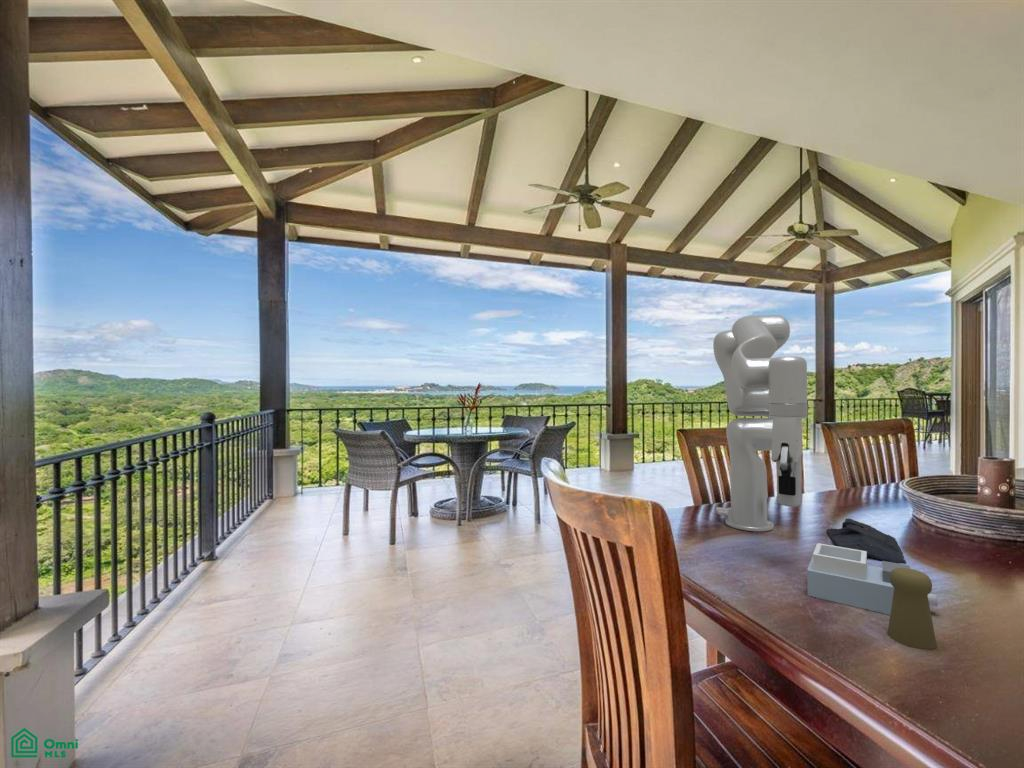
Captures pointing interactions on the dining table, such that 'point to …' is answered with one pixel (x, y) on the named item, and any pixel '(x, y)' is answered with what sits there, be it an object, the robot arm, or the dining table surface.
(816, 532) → the dining table surface
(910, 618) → the olive pepper mill
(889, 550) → the dark slate chunk
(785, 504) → the beverage can
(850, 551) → the recessed tray block
